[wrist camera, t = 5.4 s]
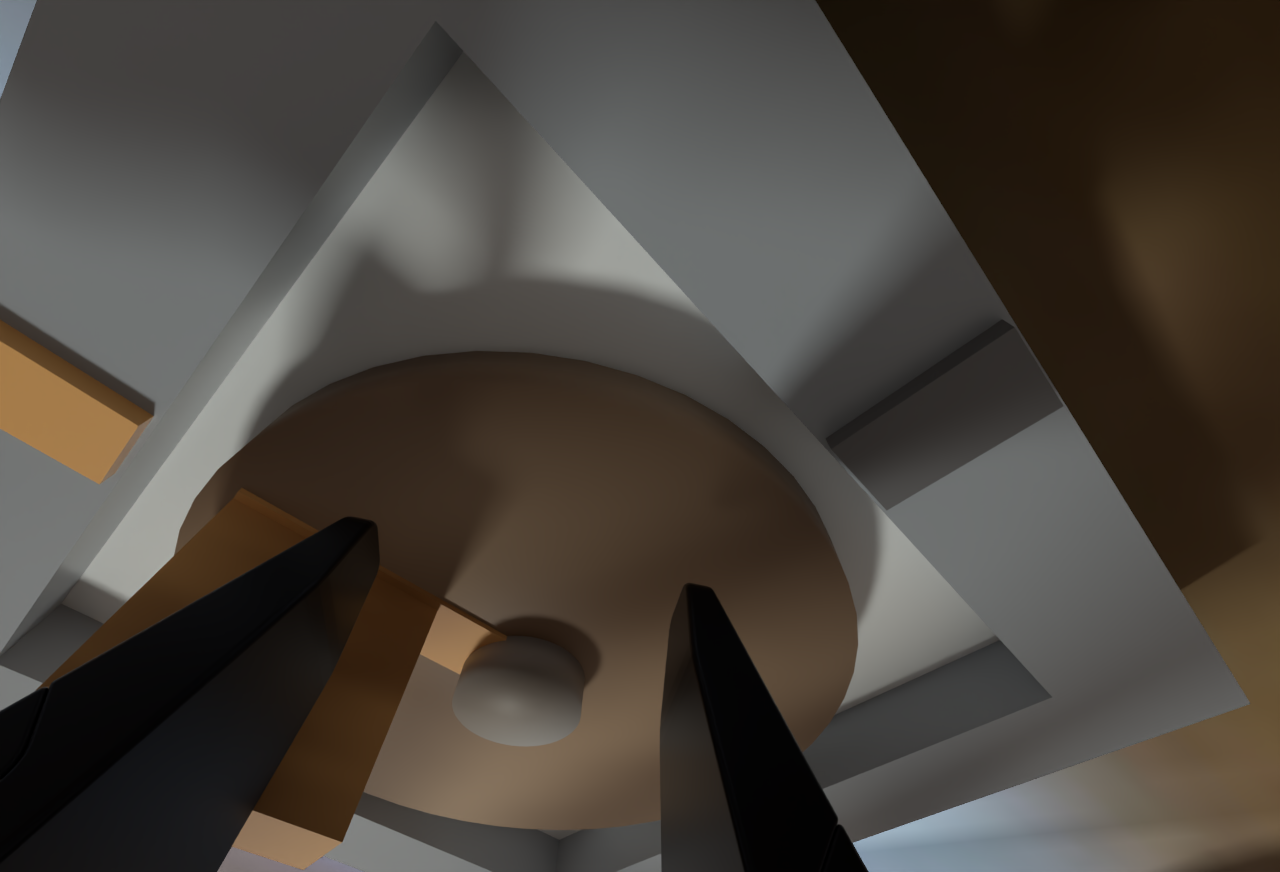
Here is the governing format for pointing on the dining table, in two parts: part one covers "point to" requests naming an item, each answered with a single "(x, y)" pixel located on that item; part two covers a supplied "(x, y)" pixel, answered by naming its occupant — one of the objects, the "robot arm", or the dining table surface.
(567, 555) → the dial
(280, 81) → the dial plate
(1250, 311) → the dining table surface
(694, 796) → the robot arm
